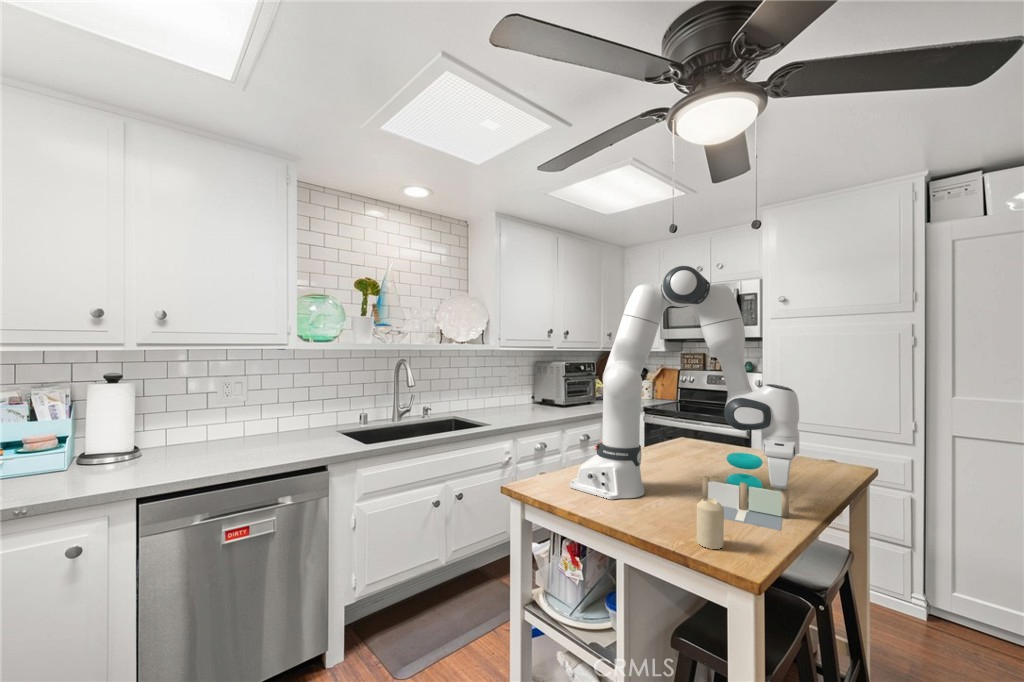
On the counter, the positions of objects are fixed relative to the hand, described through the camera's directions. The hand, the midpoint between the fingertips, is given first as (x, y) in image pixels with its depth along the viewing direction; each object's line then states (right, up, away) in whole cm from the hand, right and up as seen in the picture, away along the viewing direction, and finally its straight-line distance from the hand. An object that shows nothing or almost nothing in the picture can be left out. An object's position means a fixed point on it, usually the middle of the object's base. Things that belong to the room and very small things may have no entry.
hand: (780, 495), depth 119 cm
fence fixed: (-14, -4, +2) cm, 15 cm away
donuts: (0, -4, +19) cm, 20 cm away
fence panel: (-5, -3, -4) cm, 7 cm away
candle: (-28, -4, -21) cm, 35 cm away
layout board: (-11, -4, -1) cm, 12 cm away
